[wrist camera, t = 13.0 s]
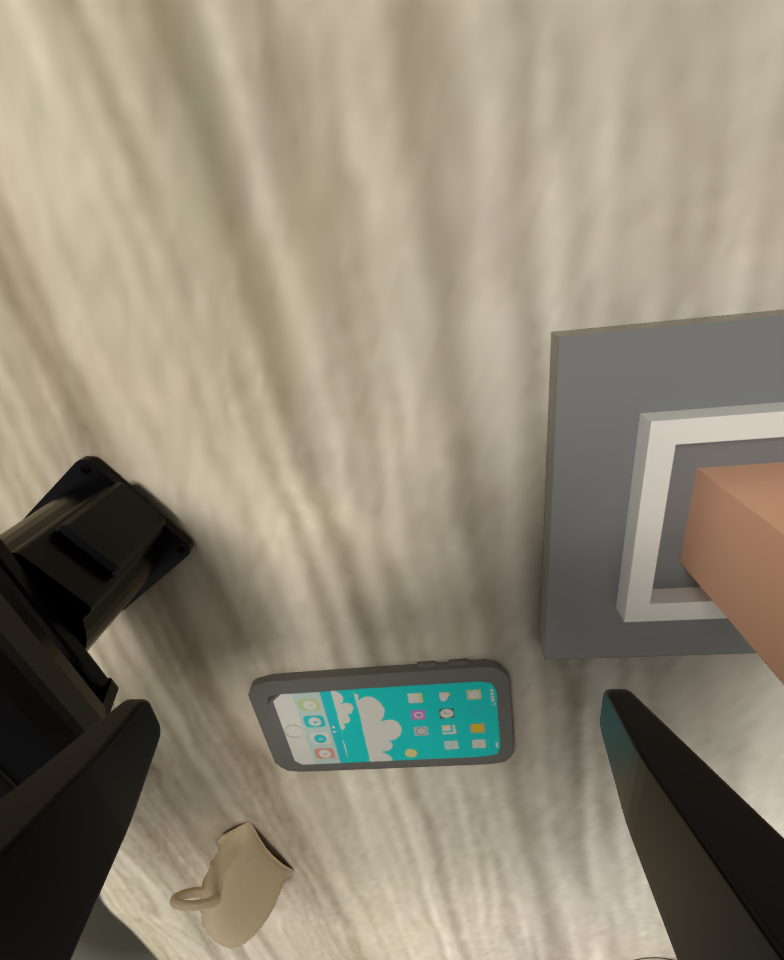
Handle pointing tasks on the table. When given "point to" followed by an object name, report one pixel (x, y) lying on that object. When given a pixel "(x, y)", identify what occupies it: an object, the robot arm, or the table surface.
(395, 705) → the smartphone
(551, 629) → the dock board
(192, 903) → the beige creamer pitcher
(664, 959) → the teacup
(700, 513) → the terracotta block
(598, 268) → the table surface
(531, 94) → the table surface
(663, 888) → the robot arm
